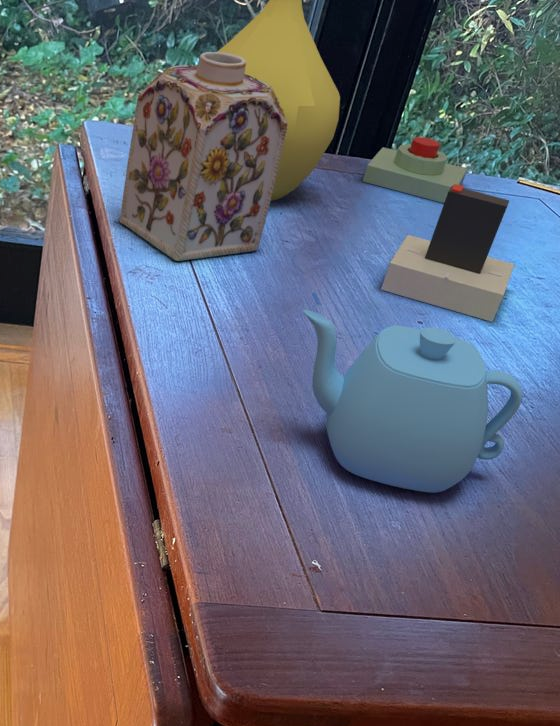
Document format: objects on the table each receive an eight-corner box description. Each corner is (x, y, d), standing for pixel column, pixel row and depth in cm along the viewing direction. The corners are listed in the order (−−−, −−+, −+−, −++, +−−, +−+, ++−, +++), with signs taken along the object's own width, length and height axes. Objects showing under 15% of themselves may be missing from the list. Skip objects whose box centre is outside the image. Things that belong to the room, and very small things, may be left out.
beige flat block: (503, 290, 111) (515, 262, 109) (492, 322, 104) (504, 293, 102) (398, 260, 114) (408, 232, 112) (380, 290, 107) (390, 261, 105)
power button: (437, 155, 134) (442, 141, 133) (433, 162, 131) (437, 147, 130) (411, 148, 135) (415, 135, 134) (406, 155, 132) (410, 141, 131)
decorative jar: (260, 253, 110) (305, 72, 98) (176, 264, 105) (212, 75, 93) (197, 212, 117) (231, 39, 105) (115, 221, 112) (141, 40, 100)
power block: (461, 185, 138) (472, 154, 135) (450, 205, 131) (461, 173, 128) (377, 163, 141) (386, 133, 138) (362, 181, 134) (371, 150, 131)
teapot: (311, 273, 80) (538, 322, 78) (277, 392, 87) (484, 440, 85) (297, 338, 70) (555, 396, 69) (261, 466, 78) (493, 521, 76)
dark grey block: (482, 267, 107) (510, 197, 102) (480, 273, 105) (508, 203, 100) (428, 251, 108) (452, 182, 103) (424, 258, 107) (449, 188, 102)
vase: (320, 180, 132) (395, -96, 111) (310, 227, 118) (393, -78, 98) (186, 152, 133) (235, -124, 113) (160, 195, 120) (212, -110, 100)
